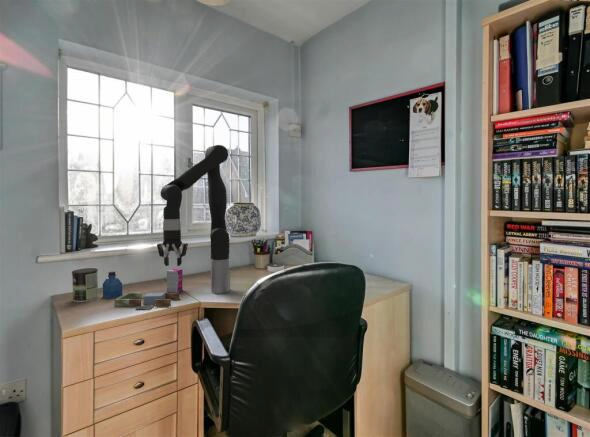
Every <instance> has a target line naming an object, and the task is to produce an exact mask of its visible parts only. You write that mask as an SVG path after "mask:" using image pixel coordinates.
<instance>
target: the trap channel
mask: <svg viewBox="0 0 590 437" xmlns="http://www.w3.org/2000/svg"><path fill="white" fill-rule="evenodd" d="M164 293H165V299H156V300H155V304H154V305H155V306H154V305H142V300H143V296H142V294H143V293H142V292H127V293H125V294H122V296H118V297H116V298H114V307H136V308H135V311H150V310H152V309H153V308H154V307H157V308H158V307H161V308H162V307H163V308H164V306H165V308H166V306H170V307H171V306H172V303H171V302H172V300H173V301H174V300H175V301H176V300H180V299H181V298H180V297H181V295H180V292H177V293H167V292H164Z"/></svg>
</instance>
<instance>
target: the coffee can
mask: <svg viewBox="0 0 590 437" xmlns="http://www.w3.org/2000/svg"><path fill="white" fill-rule="evenodd" d="M98 271H99V269H98V268H96V267H86V268H79V269H74V270H72V271H71V277H72V302H74V303H86V302H91V301H95V300H97V299H99V285H98V284H99V282H98V276H99V275H98Z"/></svg>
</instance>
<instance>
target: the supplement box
mask: <svg viewBox="0 0 590 437" xmlns="http://www.w3.org/2000/svg"><path fill="white" fill-rule="evenodd" d="M181 291H183V269H181V268H172V269H168V270H166V293H180V292H181Z"/></svg>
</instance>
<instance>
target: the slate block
mask: <svg viewBox="0 0 590 437" xmlns="http://www.w3.org/2000/svg"><path fill="white" fill-rule="evenodd" d="M165 293H166V292H150V293H149V292H148V293H146V294H145V295H143V296H142V301H143V306H149V305H155V300H156V299H165Z"/></svg>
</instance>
